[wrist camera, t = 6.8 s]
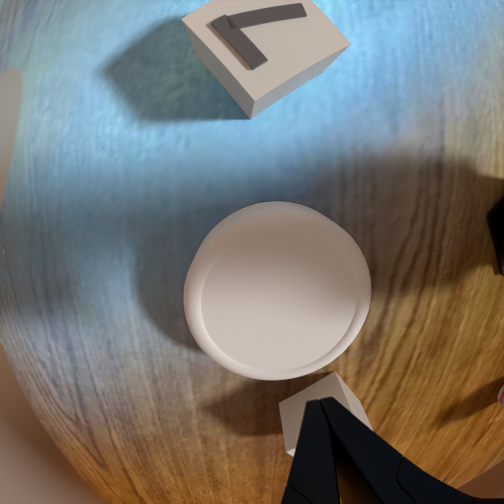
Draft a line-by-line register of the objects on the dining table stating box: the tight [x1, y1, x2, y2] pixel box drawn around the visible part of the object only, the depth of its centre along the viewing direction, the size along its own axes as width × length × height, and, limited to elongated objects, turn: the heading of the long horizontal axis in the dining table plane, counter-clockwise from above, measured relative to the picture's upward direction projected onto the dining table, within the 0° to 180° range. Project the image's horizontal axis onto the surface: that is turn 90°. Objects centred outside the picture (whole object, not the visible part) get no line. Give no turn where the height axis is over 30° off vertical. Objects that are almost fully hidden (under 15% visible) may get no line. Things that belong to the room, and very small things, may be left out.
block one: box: [279, 371, 373, 457], centre depth 19 cm, size 5×5×5 cm
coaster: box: [183, 201, 371, 380], centre depth 16 cm, size 10×10×4 cm
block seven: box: [181, 0, 350, 120], centre depth 12 cm, size 5×5×5 cm
